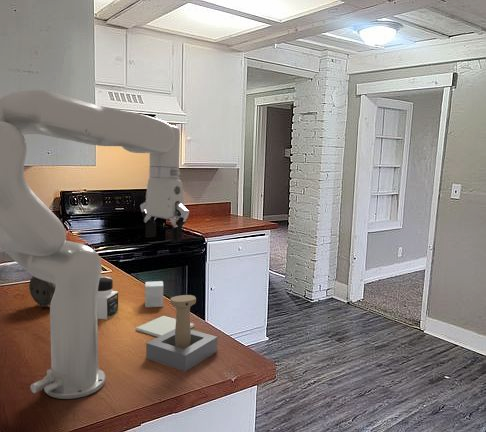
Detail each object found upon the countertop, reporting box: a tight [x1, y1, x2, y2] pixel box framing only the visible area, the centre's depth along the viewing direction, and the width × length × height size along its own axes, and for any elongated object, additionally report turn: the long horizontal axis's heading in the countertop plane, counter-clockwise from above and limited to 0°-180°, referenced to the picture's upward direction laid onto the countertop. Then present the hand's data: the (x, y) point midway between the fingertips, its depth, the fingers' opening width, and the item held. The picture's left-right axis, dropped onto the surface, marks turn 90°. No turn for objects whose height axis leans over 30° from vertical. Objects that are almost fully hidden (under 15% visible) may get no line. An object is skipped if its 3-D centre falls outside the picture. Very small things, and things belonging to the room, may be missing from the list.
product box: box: [144, 280, 164, 308], centre depth 152 cm, size 6×6×7 cm
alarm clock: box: [28, 275, 56, 310], centre depth 144 cm, size 11×5×16 cm, turn 65°
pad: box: [135, 315, 195, 338], centre depth 131 cm, size 12×12×1 cm
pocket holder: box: [145, 329, 218, 372], centre depth 114 cm, size 13×12×4 cm
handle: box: [169, 294, 197, 349], centre depth 114 cm, size 5×6×15 cm
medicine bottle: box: [97, 276, 119, 321], centre depth 140 cm, size 7×7×12 cm
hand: (163, 239), depth 117 cm, fingers open, 9 cm apart
